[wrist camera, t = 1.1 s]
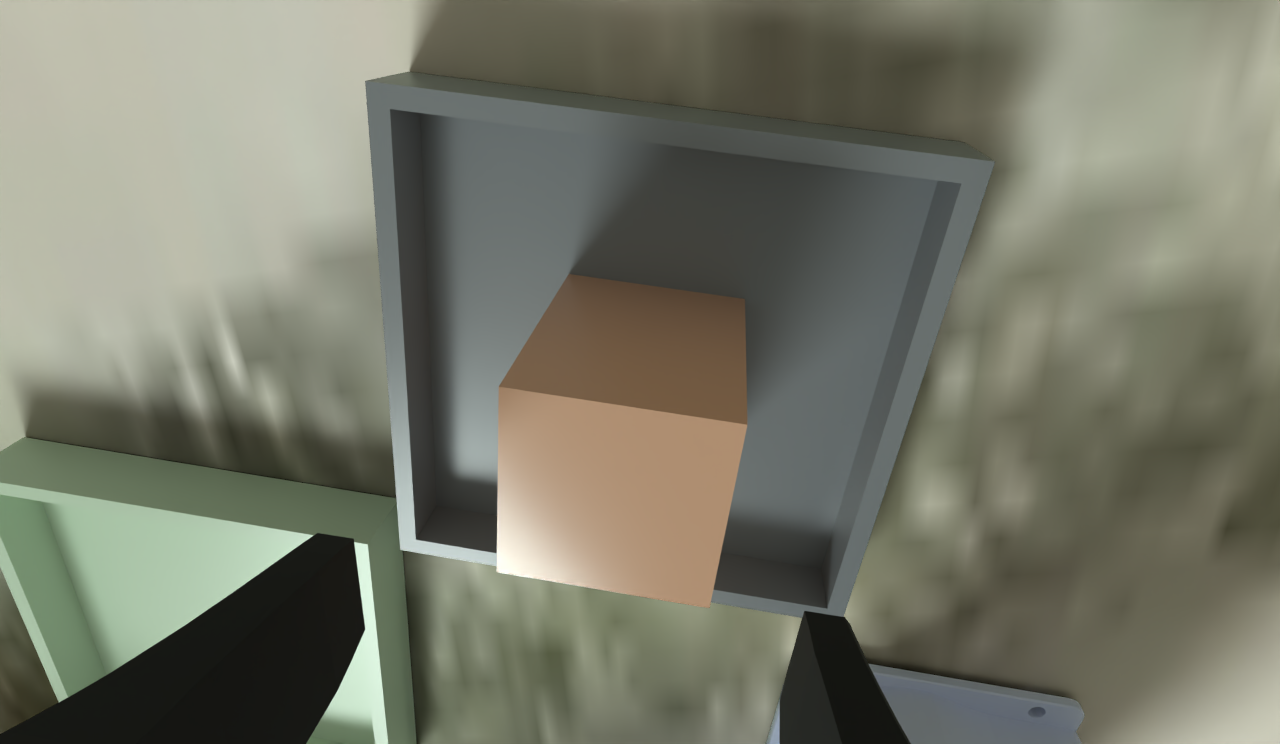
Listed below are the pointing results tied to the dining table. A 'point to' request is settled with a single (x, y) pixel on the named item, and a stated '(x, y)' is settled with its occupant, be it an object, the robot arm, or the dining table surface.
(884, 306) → the charcoal tray
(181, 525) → the green tray
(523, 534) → the terracotta block
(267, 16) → the dining table surface
